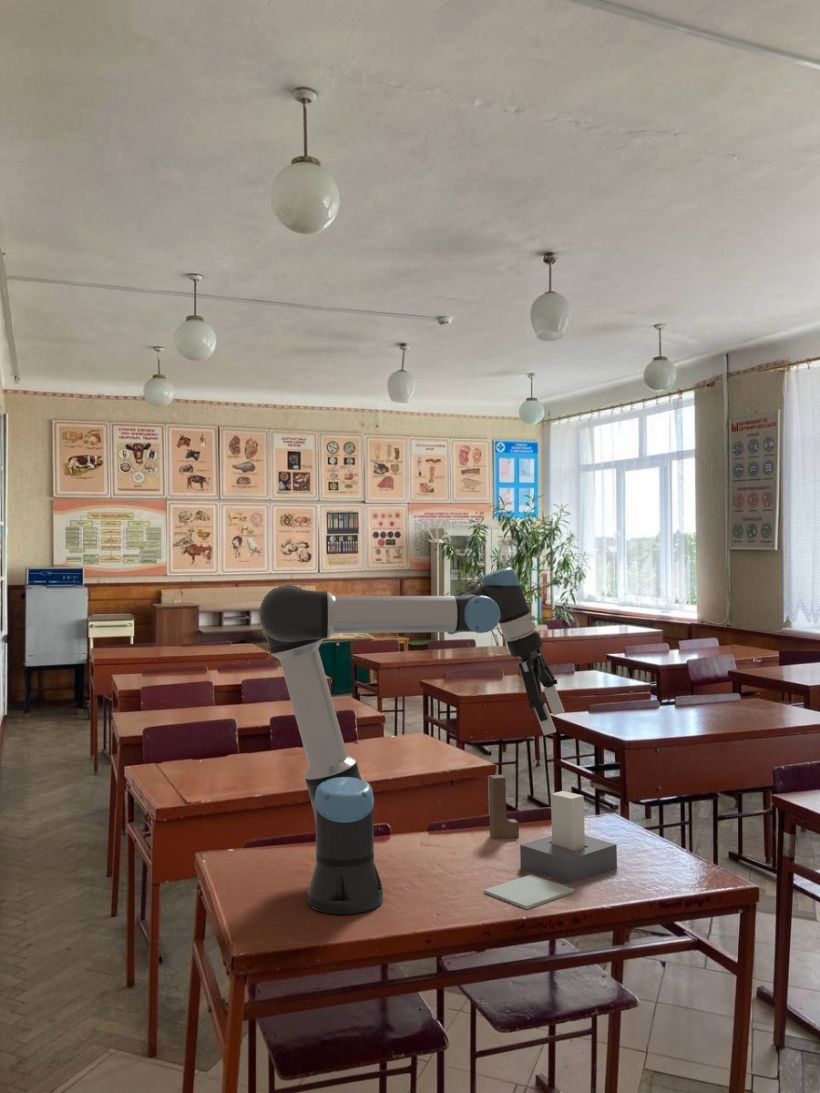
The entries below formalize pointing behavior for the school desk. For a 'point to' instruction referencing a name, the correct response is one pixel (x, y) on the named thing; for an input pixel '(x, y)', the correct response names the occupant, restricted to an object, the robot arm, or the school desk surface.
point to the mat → (529, 891)
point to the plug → (568, 820)
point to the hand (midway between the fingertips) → (554, 723)
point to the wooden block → (500, 810)
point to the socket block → (568, 859)
